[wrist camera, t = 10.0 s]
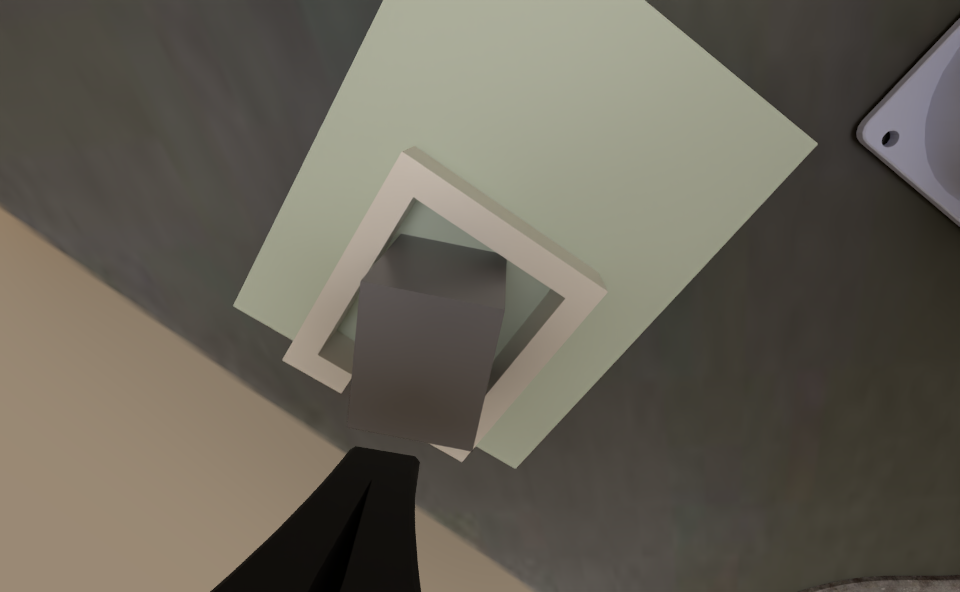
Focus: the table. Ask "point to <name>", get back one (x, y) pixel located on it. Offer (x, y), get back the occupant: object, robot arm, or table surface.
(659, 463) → the table surface
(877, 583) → the pliers
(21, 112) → the table surface
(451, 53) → the board
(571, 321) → the beige open frame
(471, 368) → the plug
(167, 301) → the table surface
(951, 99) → the robot arm
